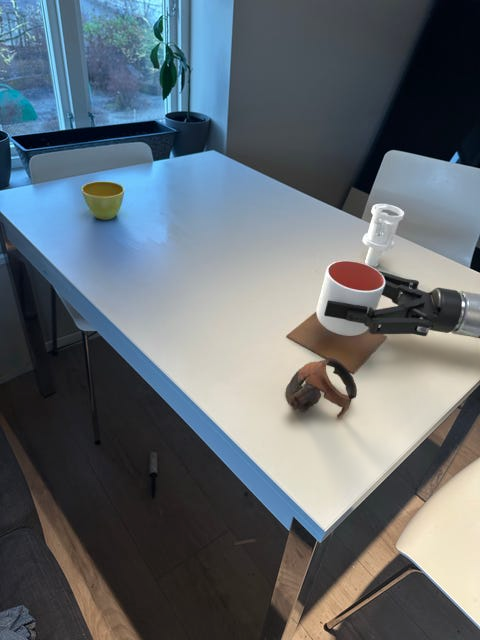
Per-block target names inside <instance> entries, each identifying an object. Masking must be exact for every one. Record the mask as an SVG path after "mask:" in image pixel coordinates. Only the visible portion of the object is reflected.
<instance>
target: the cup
mask: <svg viewBox="0 0 480 640" xmlns="http://www.w3.org/2000/svg"><path fill="white" fill-rule="evenodd" d="M377 270H378V269H376V268H375V267H371V266H369V265H366V264H365V263H363V262H359V261H354V260H338V261H334V262H332V263H330V264H329V265H328V266H327V268H326V271H325V274H324V278H323V282H322V287H321V289H320V290H321V291H320V294H319V298H318V302H317V305H316V311H315V312H316V314H317V318H318V320H319V322H320V323H321V324H322V325H323V326H324V327H325V328H327V329H328V330H330V331H332V332H334V333H337V334H340V335H346V336H354V335H359V334H362V333H364V332H365V331H367V330H368V329H369V327H367V326H365V325H364V324H363V323H358V322H352V321H348V320H346V319H340V318H334V317H328V316H324V313H325V309H326V305H327V301H328V300H330V301H335V302H341V303H347V304H353V305H359V306H365V307H367V309H368V310H367V313H368V311H369V308H370V307H371V308H372V309H373V310H377V309H378V306H379V304H380V300H381V297H382V296H383V295H382V292H383V289H384V286H385V279H384V277H383V275H382V274H381V273H380V272H379V271H380V270H379V271H377Z"/></svg>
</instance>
